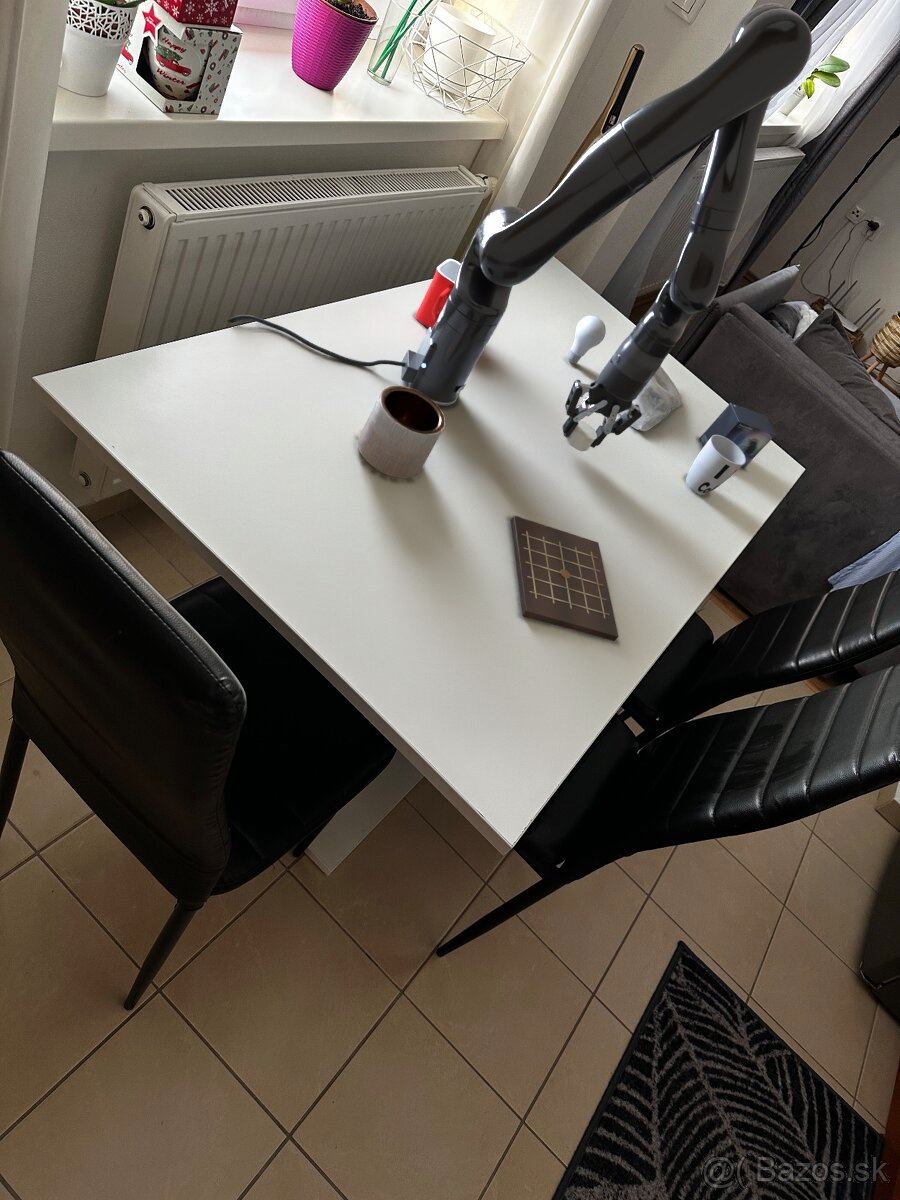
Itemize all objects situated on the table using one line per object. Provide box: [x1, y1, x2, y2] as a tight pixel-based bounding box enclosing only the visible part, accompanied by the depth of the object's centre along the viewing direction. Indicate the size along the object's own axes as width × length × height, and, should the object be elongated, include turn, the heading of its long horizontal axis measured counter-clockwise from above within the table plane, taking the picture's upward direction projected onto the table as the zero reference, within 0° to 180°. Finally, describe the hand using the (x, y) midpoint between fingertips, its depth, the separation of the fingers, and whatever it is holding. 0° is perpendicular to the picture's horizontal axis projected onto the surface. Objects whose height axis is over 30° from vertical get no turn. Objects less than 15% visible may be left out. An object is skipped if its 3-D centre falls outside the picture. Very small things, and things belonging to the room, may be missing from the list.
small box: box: [698, 402, 777, 470], centre depth 181 cm, size 11×6×10 cm, turn 99°
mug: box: [415, 258, 461, 329], centre depth 162 cm, size 12×8×11 cm
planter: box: [357, 385, 446, 479], centre depth 131 cm, size 11×11×10 cm
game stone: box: [564, 419, 597, 452], centre depth 155 cm, size 5×5×3 cm
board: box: [510, 515, 619, 642], centre depth 133 cm, size 16×20×1 cm
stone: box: [618, 365, 683, 432], centre depth 183 cm, size 28×7×15 cm
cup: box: [685, 435, 746, 496], centre depth 168 cm, size 8×8×10 cm
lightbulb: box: [566, 315, 607, 364], centre depth 177 cm, size 6×6×11 cm
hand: (578, 439), depth 155 cm, fingers closed on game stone, 5 cm apart
